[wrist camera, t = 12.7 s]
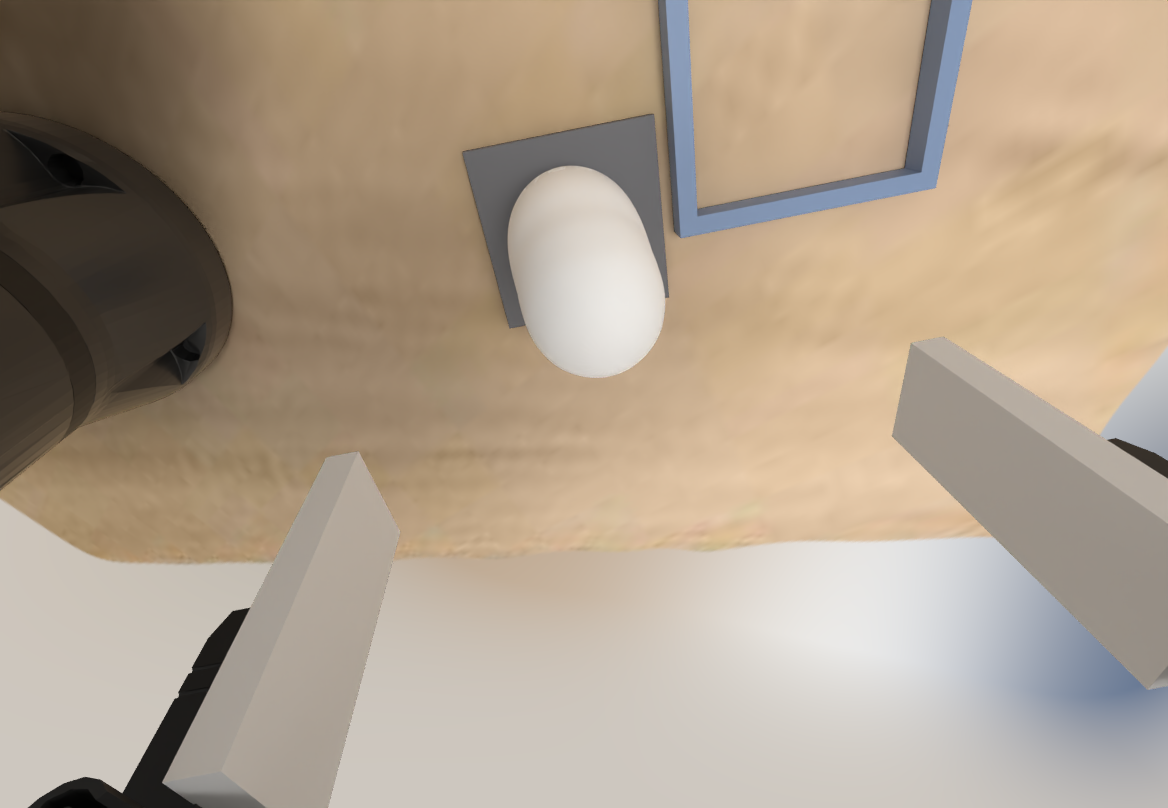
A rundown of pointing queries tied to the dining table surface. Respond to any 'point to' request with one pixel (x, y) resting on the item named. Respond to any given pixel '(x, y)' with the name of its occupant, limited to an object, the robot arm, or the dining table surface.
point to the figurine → (585, 272)
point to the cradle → (917, 175)
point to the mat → (602, 147)
